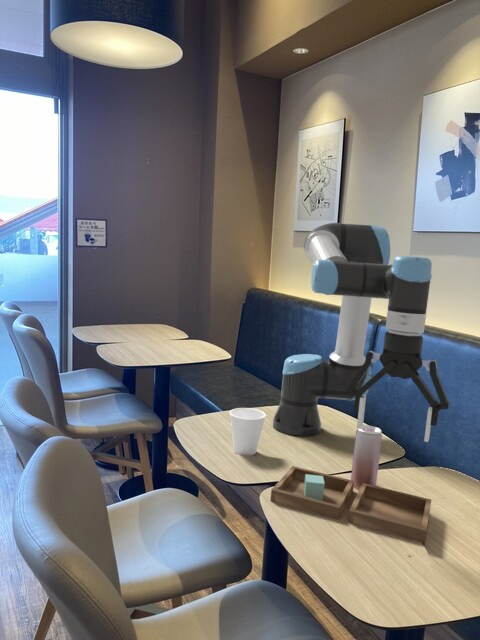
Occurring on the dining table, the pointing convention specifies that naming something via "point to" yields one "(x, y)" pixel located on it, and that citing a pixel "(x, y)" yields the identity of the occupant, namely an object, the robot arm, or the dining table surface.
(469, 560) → the dining table surface
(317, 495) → the teal block
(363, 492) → the tray
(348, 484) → the tray
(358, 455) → the beverage can
